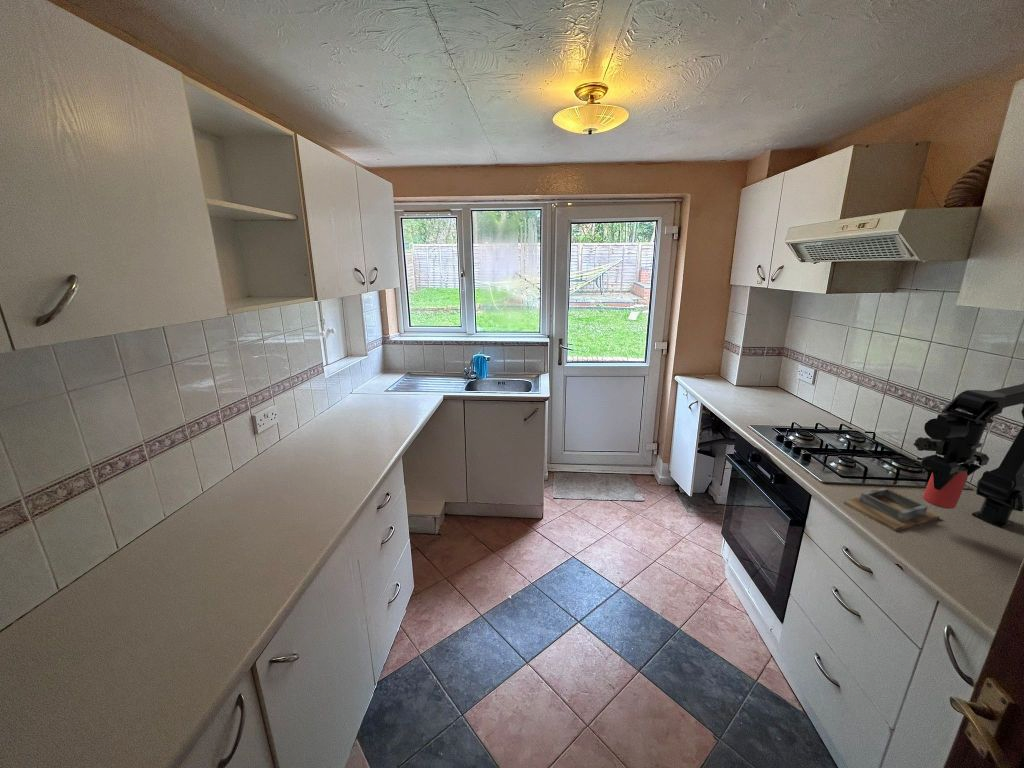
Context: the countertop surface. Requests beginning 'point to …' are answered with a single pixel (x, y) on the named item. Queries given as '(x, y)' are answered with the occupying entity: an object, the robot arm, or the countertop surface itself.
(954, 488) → the beer can
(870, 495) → the can holder
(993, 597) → the countertop surface
